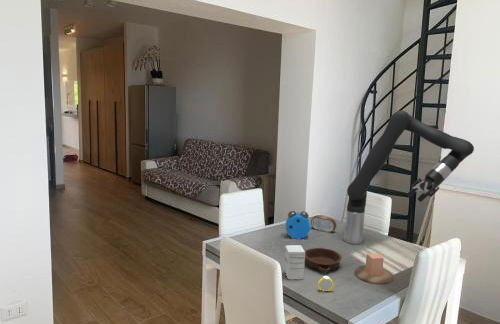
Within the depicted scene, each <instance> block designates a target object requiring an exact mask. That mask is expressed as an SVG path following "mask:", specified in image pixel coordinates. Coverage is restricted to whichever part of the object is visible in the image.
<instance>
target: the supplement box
mask: <svg viewBox="0 0 500 324" xmlns="http://www.w3.org/2000/svg"><path fill="white" fill-rule="evenodd" d="M284 247H285V249H284V265H283V267H284V269H283V270H284V271H285V272H284V274H285V273H286V274H285V276H287V277H286V279H287V278H305V262H306V260H305V251H306V250H305V249H304V248H303V246H302V245H300V244H299V245H298V244H296V245H294V244H293V245H292V244H291V245H288V244H287V245H285V246H284Z"/></svg>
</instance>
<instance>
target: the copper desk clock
mask: <svg viewBox="0 0 500 324" xmlns="http://www.w3.org/2000/svg"><path fill="white" fill-rule="evenodd" d="M310 226H311V227H312V228H313V229H314V230H316V231H320V232H321V231H322V232H324V233H325V232H326V233H333V232H335V230H336V229H337V222H336V220H334V219H333V218H332V217H329V216H328V217H327V216H323V215H314V216H313V217H312V218H311V220H310Z"/></svg>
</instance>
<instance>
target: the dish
mask: <svg viewBox="0 0 500 324" xmlns="http://www.w3.org/2000/svg"><path fill="white" fill-rule="evenodd" d="M304 251H305V262H306V265H308V266H309V267H311V268H313V269H315V270H318V271H319V272H321V273H323V274H327V273H328V272H329V271H333V270H335V269H337V268H338V267H339V265H340V262H341V261H342V259H343V257H342V255H341V254H340V253H339V252H337V251H336V250H333V249H331V248H330V249H329V248H324V247H323V248H322V247H313V248H309V249H306V250H304Z"/></svg>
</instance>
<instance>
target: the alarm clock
mask: <svg viewBox="0 0 500 324" xmlns="http://www.w3.org/2000/svg"><path fill="white" fill-rule="evenodd" d="M309 217H310V216H309V213H308V212H307V211H304V210H303V211H301V212H299V211H297V212H296V211H294V210H290V211H289V212H288V213H287V218H286V220H285V230H286V233H287V234H288V236H289V237H291V238H292V239H296V240H299V239H303V238H305V237H307V235H308V234H309V233H310V230H311V223H310V221H309V219H308V218H309Z"/></svg>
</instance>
